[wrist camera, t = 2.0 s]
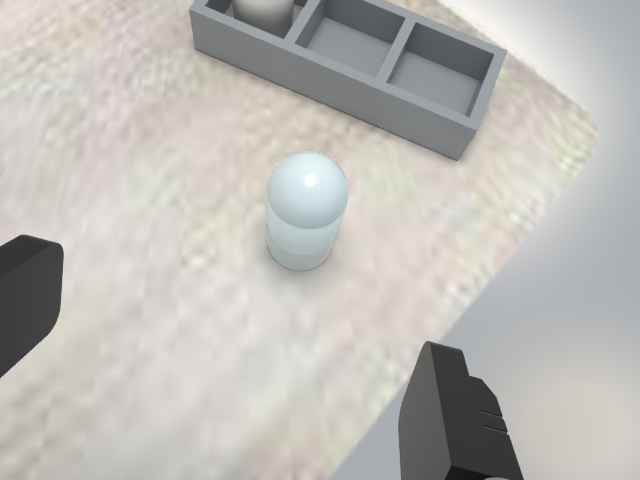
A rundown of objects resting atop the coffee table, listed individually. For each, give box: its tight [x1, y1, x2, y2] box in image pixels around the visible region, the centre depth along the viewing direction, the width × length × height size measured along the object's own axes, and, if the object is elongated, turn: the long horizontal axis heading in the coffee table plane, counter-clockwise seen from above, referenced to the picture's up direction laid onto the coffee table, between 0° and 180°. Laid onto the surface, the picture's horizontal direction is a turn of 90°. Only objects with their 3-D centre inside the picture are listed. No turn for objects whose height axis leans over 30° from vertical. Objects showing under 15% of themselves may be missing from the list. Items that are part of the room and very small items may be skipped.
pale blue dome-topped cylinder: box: [266, 151, 349, 271], centre depth 32 cm, size 5×5×9 cm
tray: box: [189, 0, 507, 161], centre depth 41 cm, size 22×8×4 cm, turn 66°
